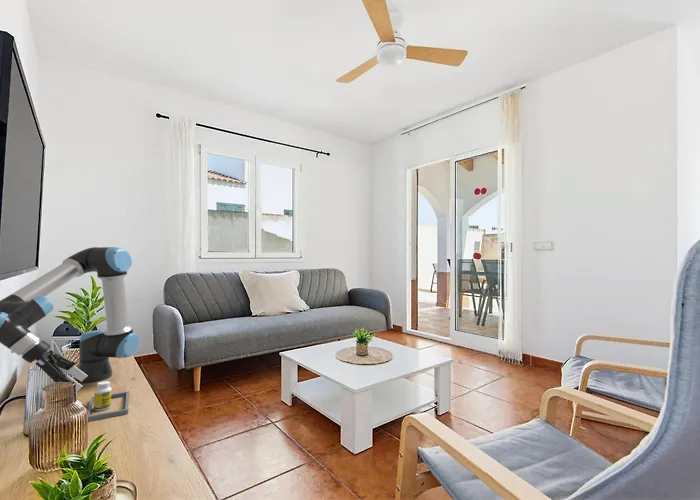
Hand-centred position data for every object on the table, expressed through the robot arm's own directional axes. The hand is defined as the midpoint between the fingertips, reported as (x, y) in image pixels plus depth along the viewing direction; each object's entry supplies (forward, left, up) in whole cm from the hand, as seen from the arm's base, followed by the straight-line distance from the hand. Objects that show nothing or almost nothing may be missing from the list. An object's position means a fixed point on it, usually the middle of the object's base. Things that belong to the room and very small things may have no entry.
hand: (82, 383), depth 128 cm
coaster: (-19, +8, -11) cm, 23 cm away
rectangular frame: (-1, +8, -11) cm, 14 cm away
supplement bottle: (-1, +6, -11) cm, 13 cm away
